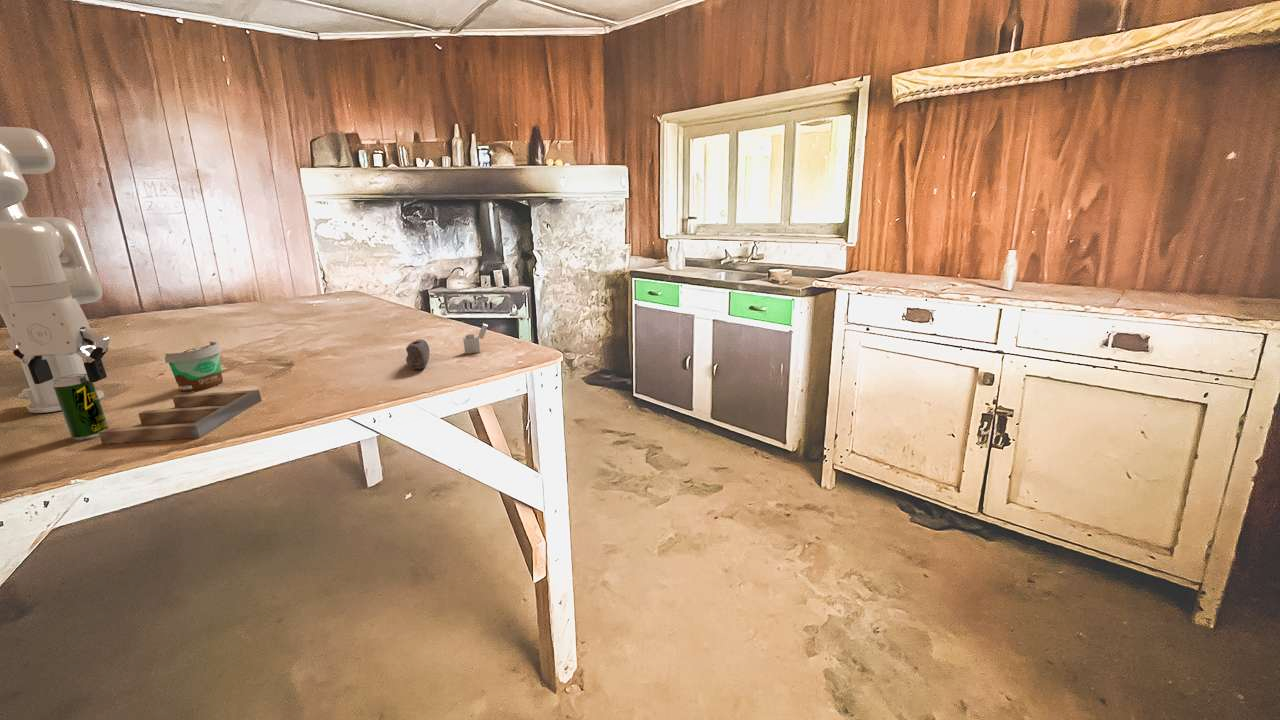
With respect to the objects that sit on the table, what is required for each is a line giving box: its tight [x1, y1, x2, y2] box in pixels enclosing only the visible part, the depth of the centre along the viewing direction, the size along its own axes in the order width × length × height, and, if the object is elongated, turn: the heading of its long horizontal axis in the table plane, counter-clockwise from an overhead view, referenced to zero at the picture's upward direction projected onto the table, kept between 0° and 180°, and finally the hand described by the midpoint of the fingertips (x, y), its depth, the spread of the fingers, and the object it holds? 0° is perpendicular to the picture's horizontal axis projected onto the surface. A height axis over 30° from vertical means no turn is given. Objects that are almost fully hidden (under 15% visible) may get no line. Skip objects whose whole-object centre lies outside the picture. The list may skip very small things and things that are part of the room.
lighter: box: [462, 322, 489, 355], centre depth 157 cm, size 7×2×8 cm, turn 106°
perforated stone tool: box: [405, 338, 430, 370], centre depth 147 cm, size 15×5×7 cm, turn 11°
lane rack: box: [98, 389, 262, 445], centre depth 114 cm, size 18×20×2 cm
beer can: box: [53, 374, 110, 441], centre depth 107 cm, size 5×5×12 cm
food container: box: [164, 341, 224, 393], centre depth 135 cm, size 12×6×10 cm, turn 168°
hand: (71, 380), depth 106 cm, fingers open, 9 cm apart
